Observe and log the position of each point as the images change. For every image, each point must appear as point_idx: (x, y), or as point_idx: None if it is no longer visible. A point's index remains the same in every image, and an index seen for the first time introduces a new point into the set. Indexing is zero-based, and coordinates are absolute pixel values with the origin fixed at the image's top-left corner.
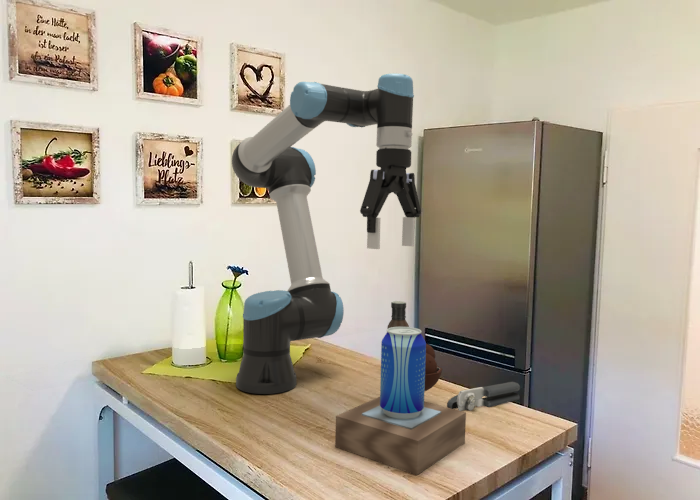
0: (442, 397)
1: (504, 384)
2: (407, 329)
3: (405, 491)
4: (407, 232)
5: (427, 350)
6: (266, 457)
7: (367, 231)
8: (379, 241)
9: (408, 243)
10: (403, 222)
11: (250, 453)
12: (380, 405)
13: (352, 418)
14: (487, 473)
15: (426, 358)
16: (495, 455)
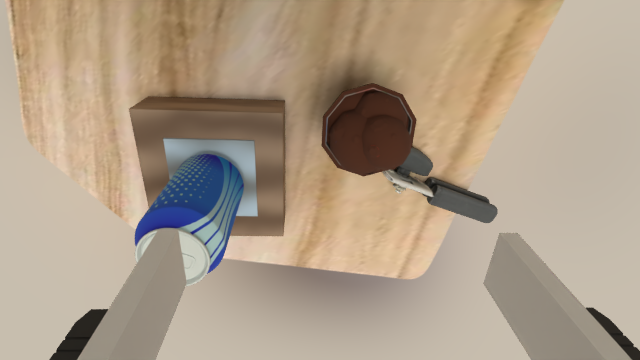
0: (435, 116)
1: (471, 211)
2: (198, 251)
3: (130, 219)
4: (531, 316)
5: (375, 166)
6: (42, 40)
7: (86, 316)
8: (172, 311)
9: (495, 275)
10: (590, 349)
11: (27, 9)
12: (181, 164)
13: (142, 135)
14: (228, 258)
15: (354, 169)
16: (275, 249)
